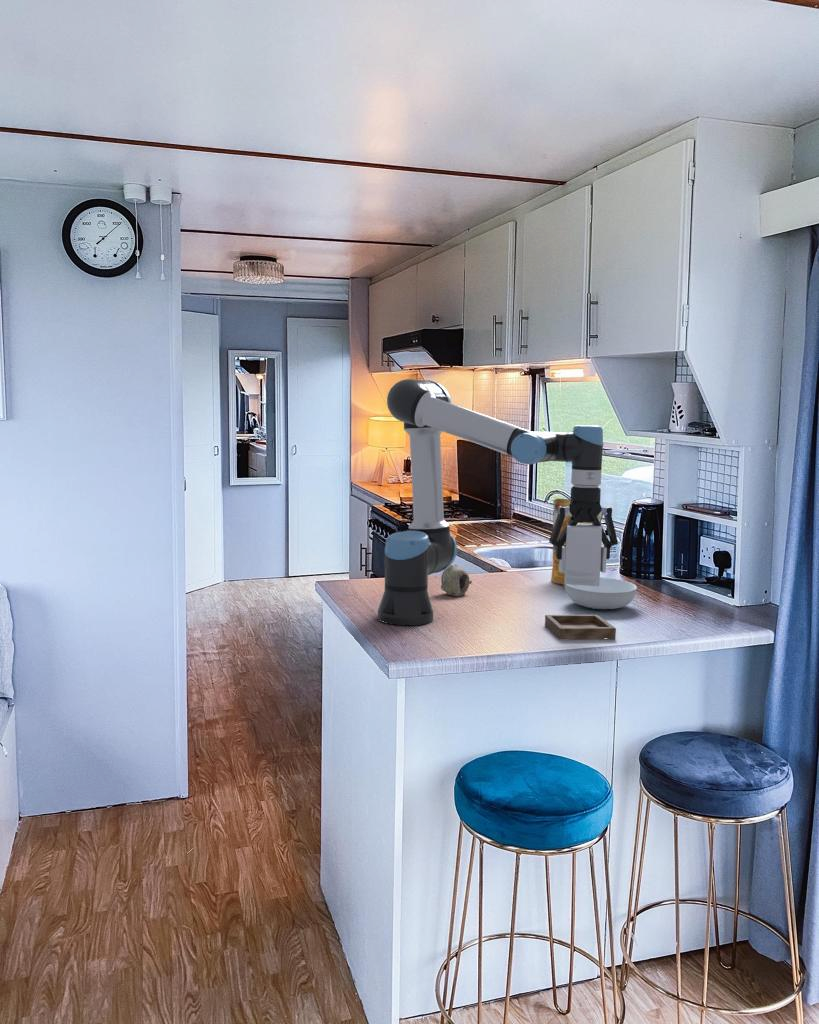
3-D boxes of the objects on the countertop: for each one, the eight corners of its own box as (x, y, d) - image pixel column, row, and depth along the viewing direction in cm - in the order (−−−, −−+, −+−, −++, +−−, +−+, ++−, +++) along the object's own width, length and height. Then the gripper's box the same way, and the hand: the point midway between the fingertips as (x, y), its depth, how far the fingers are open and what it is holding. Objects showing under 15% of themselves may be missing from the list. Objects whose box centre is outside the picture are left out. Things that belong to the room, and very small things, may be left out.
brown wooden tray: (559, 639, 217) (560, 628, 217) (544, 625, 231) (545, 614, 231) (615, 639, 219) (615, 628, 218) (597, 624, 233) (597, 614, 233)
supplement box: (599, 586, 218) (602, 528, 216) (563, 584, 220) (566, 526, 218) (599, 580, 227) (601, 523, 225) (564, 578, 229) (566, 522, 227)
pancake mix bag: (556, 578, 295) (560, 497, 292) (601, 588, 280) (605, 503, 277) (543, 581, 291) (546, 498, 287) (587, 591, 276) (592, 504, 273)
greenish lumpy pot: (443, 603, 265) (433, 574, 263) (447, 593, 273) (437, 564, 271) (473, 596, 263) (463, 566, 260) (475, 586, 271) (466, 557, 268)
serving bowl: (554, 609, 250) (555, 585, 250) (575, 595, 269) (576, 574, 268) (625, 618, 241) (627, 594, 240) (643, 604, 259) (644, 581, 258)
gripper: (546, 487, 216) (543, 574, 218) (634, 487, 218) (629, 574, 221) (538, 484, 223) (535, 569, 226) (623, 485, 225) (619, 569, 228)
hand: (582, 571), depth 223 cm, fingers closed on supplement box, 10 cm apart
